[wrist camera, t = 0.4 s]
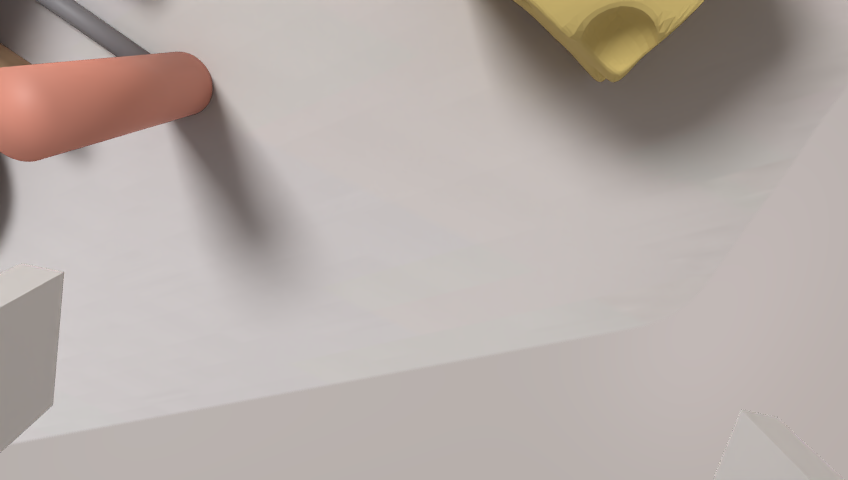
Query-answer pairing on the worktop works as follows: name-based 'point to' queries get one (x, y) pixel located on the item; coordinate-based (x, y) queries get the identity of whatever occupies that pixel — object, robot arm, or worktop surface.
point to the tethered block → (95, 92)
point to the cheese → (609, 29)
